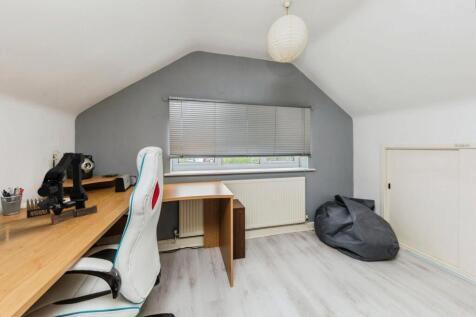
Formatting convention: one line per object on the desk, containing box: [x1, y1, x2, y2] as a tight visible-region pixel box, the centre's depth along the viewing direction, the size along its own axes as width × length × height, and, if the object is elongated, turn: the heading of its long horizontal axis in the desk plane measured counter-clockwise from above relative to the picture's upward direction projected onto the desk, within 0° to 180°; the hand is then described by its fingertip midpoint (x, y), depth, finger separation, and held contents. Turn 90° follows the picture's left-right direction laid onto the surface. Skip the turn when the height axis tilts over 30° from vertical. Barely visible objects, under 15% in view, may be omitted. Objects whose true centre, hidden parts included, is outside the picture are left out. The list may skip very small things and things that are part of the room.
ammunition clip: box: [25, 197, 52, 219], centre depth 124 cm, size 11×2×12 cm, turn 127°
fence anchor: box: [71, 204, 98, 218], centre depth 125 cm, size 2×12×5 cm, turn 139°
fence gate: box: [50, 210, 75, 226], centre depth 115 cm, size 2×10×4 cm, turn 165°
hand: (57, 218), depth 114 cm, fingers closed
